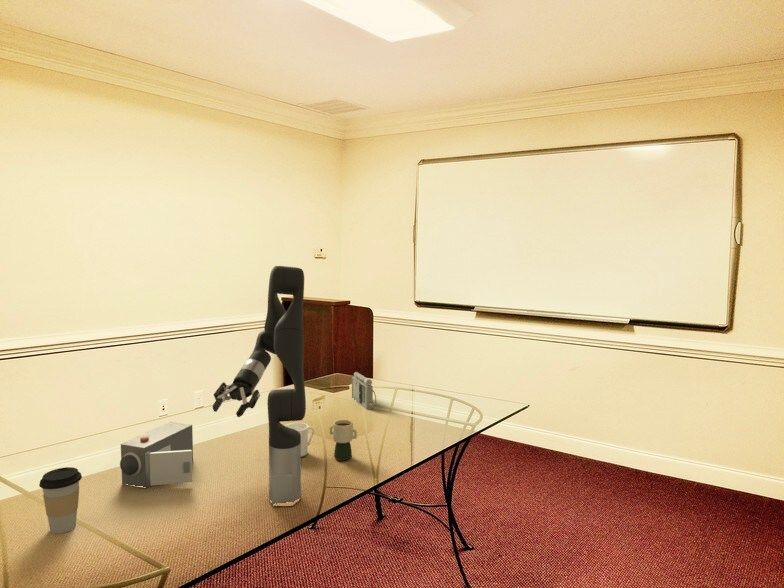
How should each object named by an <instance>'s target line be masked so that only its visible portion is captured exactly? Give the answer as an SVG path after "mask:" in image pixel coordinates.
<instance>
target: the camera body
mask: <svg viewBox="0 0 784 588" xmlns="http://www.w3.org/2000/svg"><path fill="white" fill-rule="evenodd" d="M193 433H194V432H193V424H189V423H181V422H175V421H170V422H167V423H165V424H163V425H160V426H158V427H156V428H154V429H151V430H149V431H147V432H144V433H142V434H140V435H138V436H136V437H133V438H132V439H129V440H127V441H125V442H122V443H121V444H120V458H121V459H120V462H119V467H120V469H121V484H128V485H135V486H143V487H146V476H145V452H165V451H180V450H192V461H193V462H194V442H193V440H194V439H193V438H194V437H193ZM128 485H127V486H128Z"/></svg>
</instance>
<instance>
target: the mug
mask: <svg viewBox="0 0 784 588" xmlns="http://www.w3.org/2000/svg"><path fill="white" fill-rule="evenodd" d="M284 426H286V427H288V428H291V429H294V430H297V431H298V432H299V433H300V435H301V459H302V458H305V457H306V456H307V455H308V447H309V446H310V445H311V442H312V439H313V437H314V433H315V428H314V427H313V426H309V424H307V423H304V422H291V423H287V424H285V425H284ZM309 429H310V430H311V432H310V435H309ZM308 438H309V439H308Z"/></svg>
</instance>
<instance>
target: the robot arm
mask: <svg viewBox="0 0 784 588" xmlns="http://www.w3.org/2000/svg"><path fill="white" fill-rule="evenodd" d="M304 273H305V272H304V270H303V269H302V268H301V267H295V266H284V265H274V266H273V267H272V269H271V271H270V275H269V279H268V293H267V311H266V312H267V313H266V318H265V322H264V328H263V330H262V331H260V332H259V333H258V335H257V337H256V341H255V345H254V348H253V350H252V353H251V354H250V356H249V357H248V359H247V361H245V363H244V364H243V365H242V367H241V368H240V370H239V371H238V373H237V374H236V376H235V377H234V379H233V381H232V383H231V384H226V382H224V381H223V382H222V383H221V384H220V385H219V387H218V388H217V389H216V390H215V391H214V393H213V398H214V399H215V401H214V403H213V404H212V410H213V412H215V413H216V412H218V410H219V409H220V408H221V406H222V403H224V402H225V401H230V400H234V401H236V400H237V401H239V402H241V401H242V404H241V405H240V406H239V407H238V409H237V410H236V413H235V415H236V417H237V418H241V417H242V416H244V413H245V412H246V411H247V409H254V408H255V406H256V404H257V402H258V400H259V399H260V396H261V393H260V391H259V390H258V389H255V388H256V387H257V386H258V384H259V382H260V381H261V380H262V377H263V375H264V372H265V371H266V369H267V367H268V366H269V364H270V363H271V360H272V356H271V354H272V355H275V356H276V357H277V358H278V360H279V361H280V362H281V364H282V365H283V366H284V369H286V371H287V373H288V374H289V376H290V378H291V380H292V385H293V387H294V388H286V389H285V388H283V389H271V390H270V391H269V393H268V395H267V418H268V494H269V495H268V496H269V497H268V498H269V499H270V500H271V501H272V504H275V503H276V504H277V503H286V502H294V501H295V500H297V499H299V498H300V497H301V498H302V468H301V466H302V464H301V463H302V462H301V461H302V460H301V459H302V458H301V435H300V433H299V432H298V431H297V430H294V429H291V428H288V427H286V426H285V425H284V424H283V423H282V422H299V421H303V420H304V419H305V415H306V411H307V410H306V409H307V407H306V406H307V404H306V402H307V401H306V389H305V387H306V386H305V375H304V373H305V372H304V371H305V369H304V366H305V365H304V363H305V362H304V360H305V359H304V357H305V355H304V354H305V332H304V331H305V330H304V296H305V274H304ZM278 294H279V295H290V296H292V301H291V303H290V305H289V306H288V308H287V310H286V309H285V307H284V305H283V304H282V302H281V300H280V298H279V296H278ZM249 397H251V398H250V399H249V401H248V398H249ZM269 499H268V500H269ZM272 504H271V505H272Z"/></svg>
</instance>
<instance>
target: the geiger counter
mask: <svg viewBox="0 0 784 588" xmlns="http://www.w3.org/2000/svg"><path fill="white" fill-rule="evenodd" d="M372 384H373V381H372V380H371V379H370V378H368V377H366V376H364V375H362V374H361V373H359V372H358V371H355V372H354V373H353V376H351V399H352V398H354V399H355V400H356V401H357V402H358V404H359V405H360V406H361V407H363V409H365V410H372V409H373V406H375V405H376V403H377V395H376V392H375V390H374V389H373V385H372ZM373 394H374V400H373ZM355 400H354V401H355ZM356 401H355V402H356ZM373 401H374V403H373ZM357 402H356V403H357Z"/></svg>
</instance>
